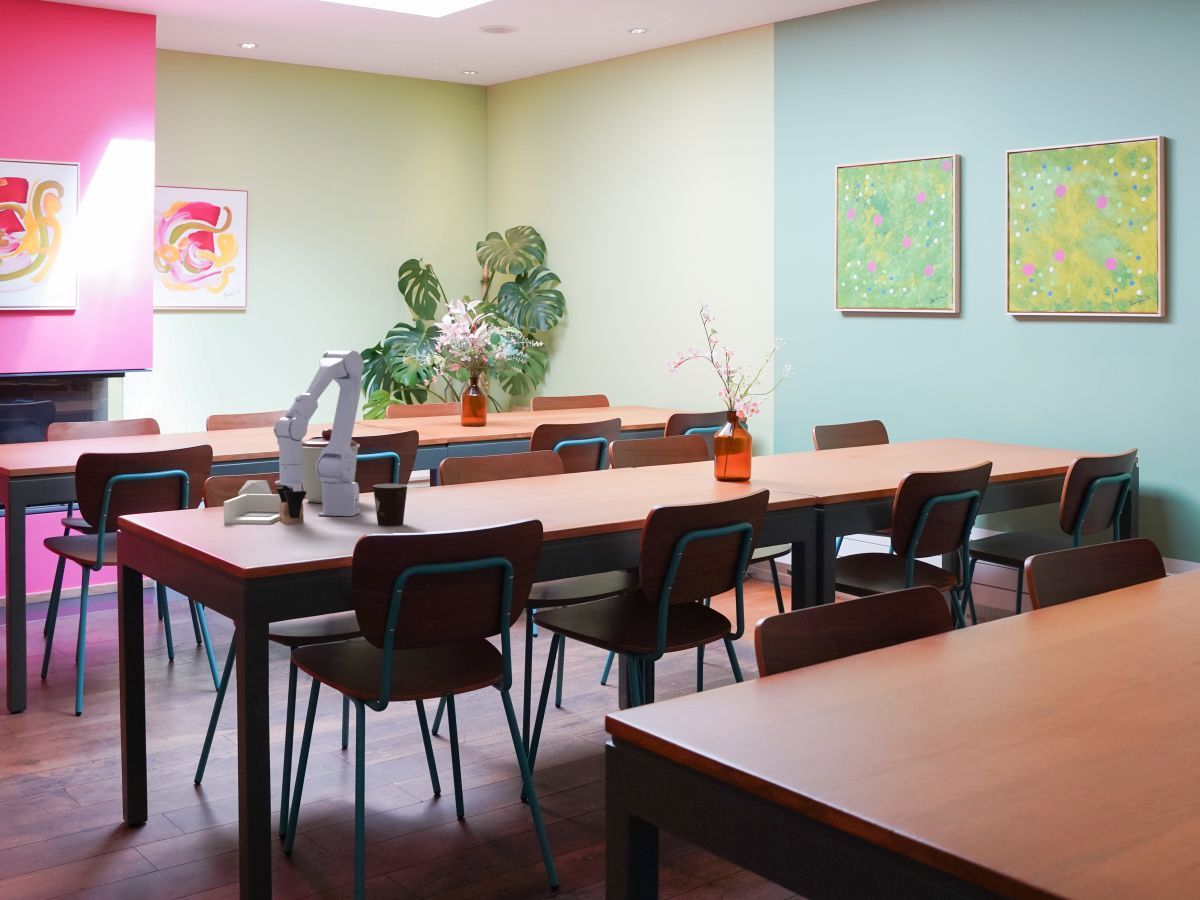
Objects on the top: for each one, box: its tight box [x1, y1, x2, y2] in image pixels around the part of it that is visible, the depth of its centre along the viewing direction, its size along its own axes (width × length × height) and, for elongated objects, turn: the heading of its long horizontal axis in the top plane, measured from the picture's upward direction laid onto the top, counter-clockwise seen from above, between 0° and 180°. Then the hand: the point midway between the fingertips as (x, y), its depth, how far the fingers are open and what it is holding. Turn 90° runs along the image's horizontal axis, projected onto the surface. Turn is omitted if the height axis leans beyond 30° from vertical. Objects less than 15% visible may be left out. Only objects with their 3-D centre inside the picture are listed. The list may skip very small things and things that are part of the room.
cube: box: [279, 502, 305, 524], centre depth 324 cm, size 5×5×5 cm
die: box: [237, 479, 273, 496], centre depth 345 cm, size 8×9×10 cm
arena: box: [223, 493, 281, 525], centre depth 328 cm, size 12×16×6 cm
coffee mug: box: [372, 483, 408, 527], centre depth 319 cm, size 12×9×10 cm
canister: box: [302, 428, 361, 504], centre depth 362 cm, size 18×18×21 cm
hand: (291, 516), depth 324 cm, fingers open, 6 cm apart
